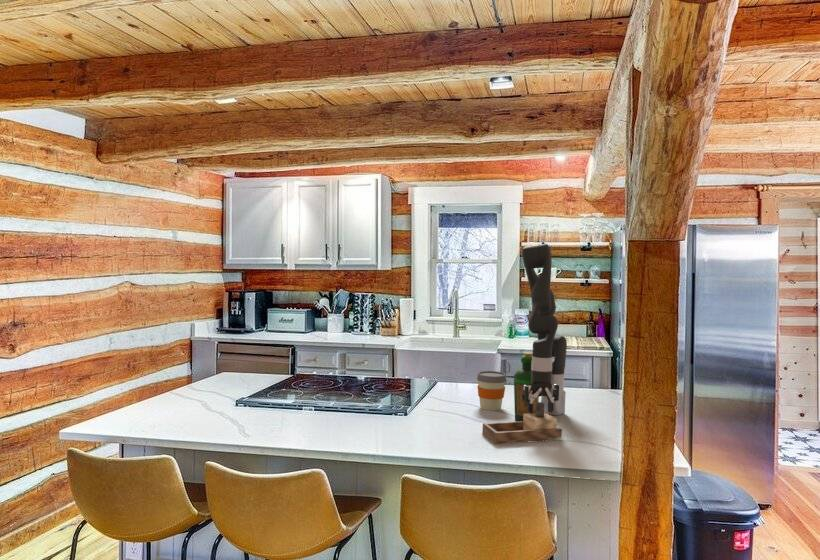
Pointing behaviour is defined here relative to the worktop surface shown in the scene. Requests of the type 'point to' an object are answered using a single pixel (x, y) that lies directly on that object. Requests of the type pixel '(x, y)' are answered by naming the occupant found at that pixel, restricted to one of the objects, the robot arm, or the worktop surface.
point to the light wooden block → (539, 419)
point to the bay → (517, 433)
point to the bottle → (522, 379)
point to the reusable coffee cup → (491, 389)
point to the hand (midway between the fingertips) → (540, 412)
